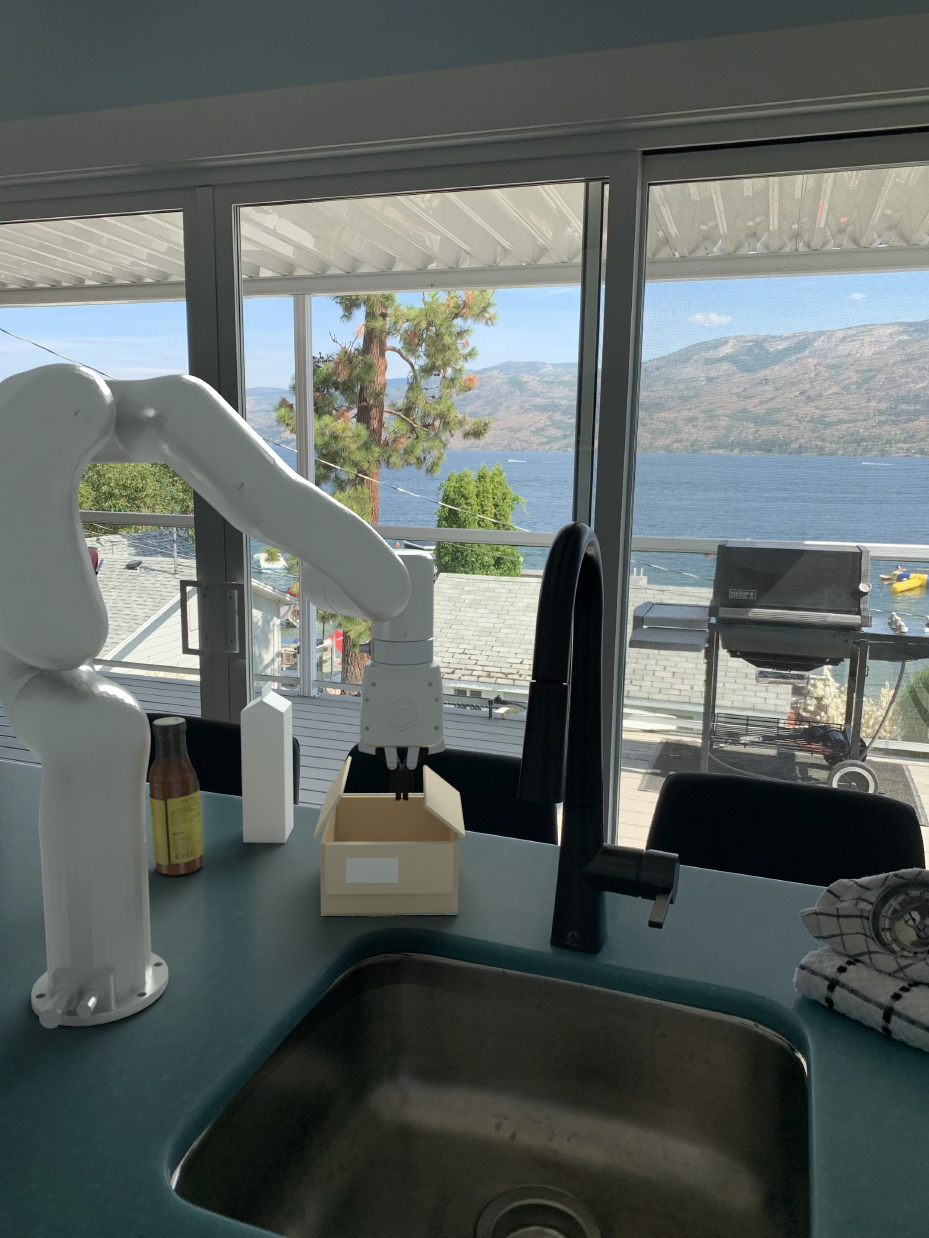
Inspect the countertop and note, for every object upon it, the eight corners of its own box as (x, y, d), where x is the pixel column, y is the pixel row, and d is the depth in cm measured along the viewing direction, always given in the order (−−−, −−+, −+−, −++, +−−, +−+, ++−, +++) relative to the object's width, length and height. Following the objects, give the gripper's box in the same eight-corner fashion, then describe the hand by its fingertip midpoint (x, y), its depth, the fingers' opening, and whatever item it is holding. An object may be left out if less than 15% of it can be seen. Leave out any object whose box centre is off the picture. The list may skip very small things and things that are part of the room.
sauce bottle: (211, 859, 121) (207, 714, 118) (193, 879, 115) (188, 727, 112) (164, 856, 122) (159, 712, 119) (143, 876, 116) (137, 725, 113)
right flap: (463, 838, 106) (465, 835, 106) (423, 806, 105) (426, 804, 105) (457, 794, 120) (459, 792, 120) (423, 766, 120) (425, 764, 120)
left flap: (328, 795, 119) (326, 793, 119) (351, 757, 119) (348, 755, 119) (316, 839, 105) (313, 837, 105) (342, 795, 104) (339, 794, 104)
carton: (458, 918, 106) (459, 844, 104) (320, 920, 105) (319, 845, 104) (452, 857, 123) (453, 793, 122) (333, 858, 122) (333, 793, 121)
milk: (243, 843, 127) (238, 689, 124) (253, 826, 133) (249, 679, 129) (286, 843, 127) (282, 690, 123) (294, 827, 133) (291, 680, 129)
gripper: (337, 657, 105) (338, 808, 108) (465, 657, 106) (463, 807, 109) (342, 645, 113) (343, 787, 116) (462, 646, 114) (460, 786, 116)
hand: (401, 796), depth 112 cm, fingers closed
